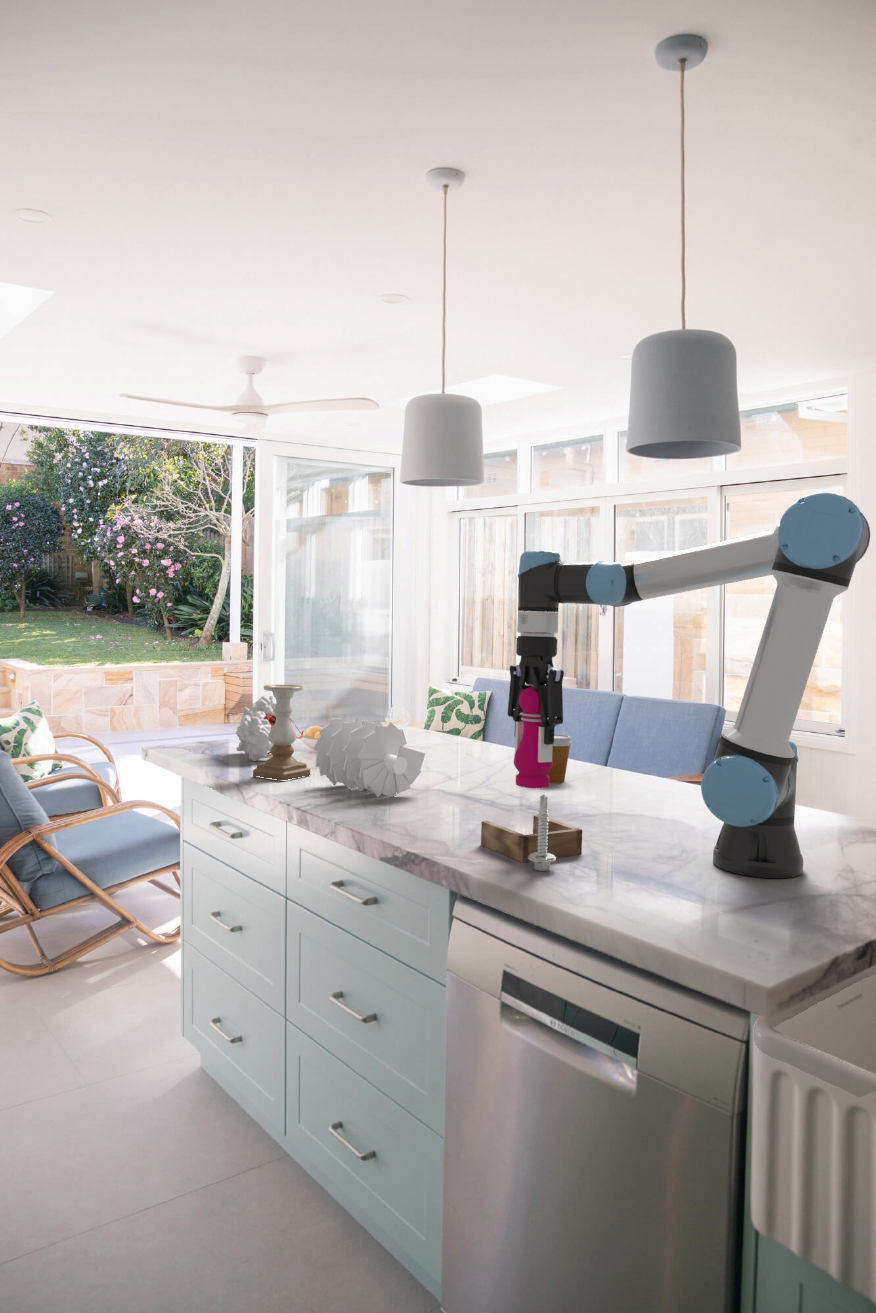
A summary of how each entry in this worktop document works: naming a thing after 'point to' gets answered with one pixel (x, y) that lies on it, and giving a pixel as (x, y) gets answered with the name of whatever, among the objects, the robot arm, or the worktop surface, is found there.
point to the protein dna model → (257, 728)
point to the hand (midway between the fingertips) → (533, 758)
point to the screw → (542, 839)
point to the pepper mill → (530, 744)
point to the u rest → (532, 840)
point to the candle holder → (282, 739)
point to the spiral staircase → (367, 756)
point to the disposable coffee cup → (559, 758)
